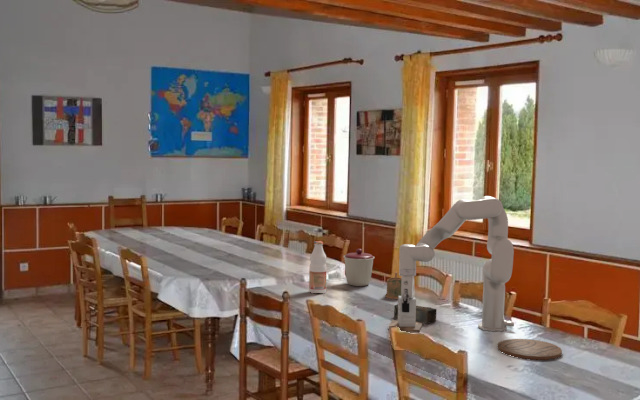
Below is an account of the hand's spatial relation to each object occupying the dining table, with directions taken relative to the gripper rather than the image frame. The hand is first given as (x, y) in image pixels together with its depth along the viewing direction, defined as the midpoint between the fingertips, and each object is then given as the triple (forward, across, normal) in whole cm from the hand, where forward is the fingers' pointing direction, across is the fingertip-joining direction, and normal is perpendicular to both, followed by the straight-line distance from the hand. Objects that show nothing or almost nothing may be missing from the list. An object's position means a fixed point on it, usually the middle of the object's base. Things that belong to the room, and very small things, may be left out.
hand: (407, 309), depth 323 cm
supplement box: (+7, 0, 0) cm, 7 cm away
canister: (+8, +87, +40) cm, 96 cm away
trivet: (+9, -21, -52) cm, 57 cm away
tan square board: (+8, 0, 0) cm, 8 cm away
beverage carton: (+9, +16, -2) cm, 18 cm away
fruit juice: (+8, +58, +56) cm, 81 cm away
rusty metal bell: (+8, +65, +14) cm, 67 cm away
